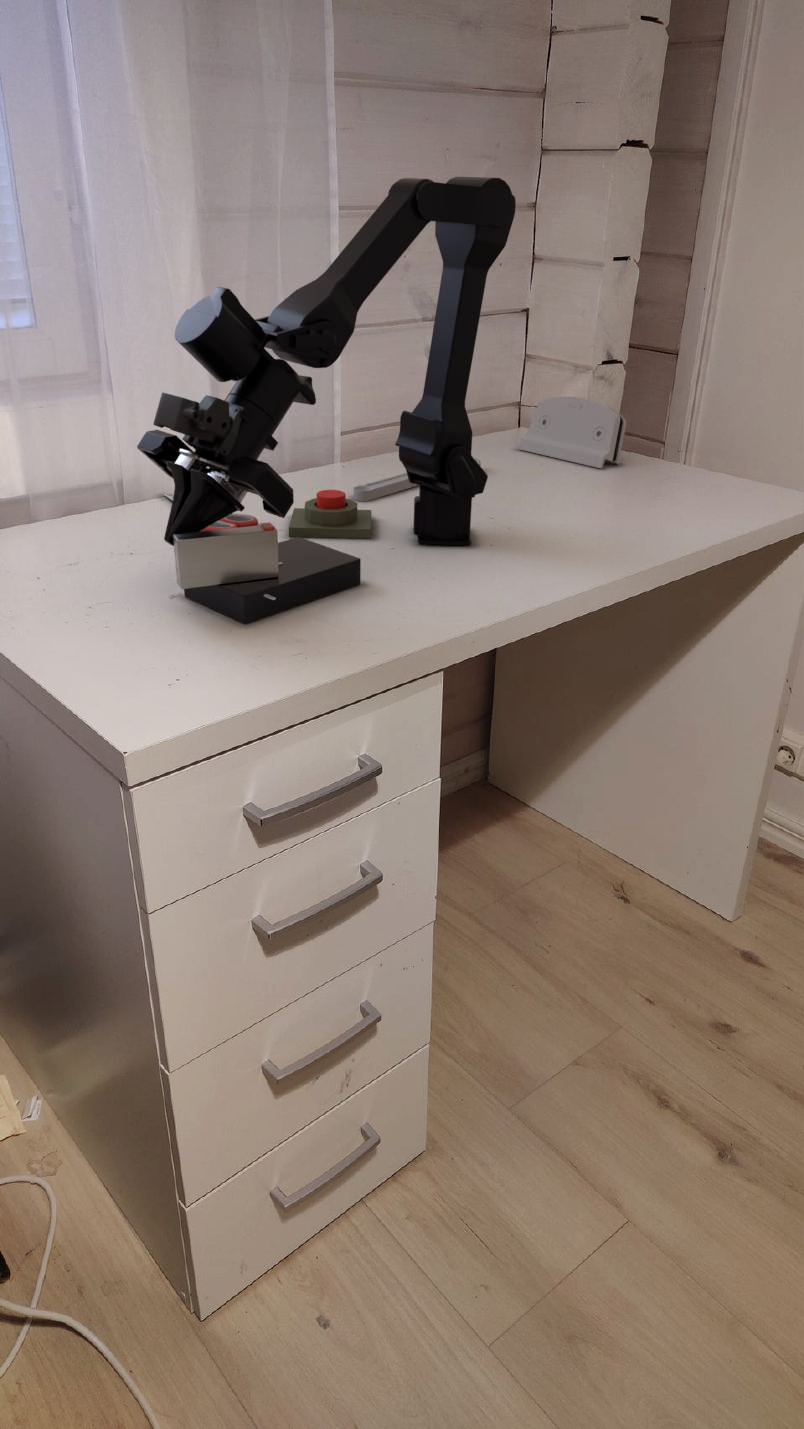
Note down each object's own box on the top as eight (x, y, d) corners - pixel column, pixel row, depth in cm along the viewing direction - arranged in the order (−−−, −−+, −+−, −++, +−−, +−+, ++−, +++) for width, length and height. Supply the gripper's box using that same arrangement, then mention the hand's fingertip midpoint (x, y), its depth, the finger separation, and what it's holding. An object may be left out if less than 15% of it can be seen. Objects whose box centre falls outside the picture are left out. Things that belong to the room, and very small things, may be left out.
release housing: (371, 518, 131) (371, 496, 129) (370, 538, 124) (370, 514, 122) (294, 517, 130) (293, 494, 129) (288, 536, 123) (288, 513, 122)
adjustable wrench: (362, 503, 137) (362, 490, 136) (332, 493, 141) (332, 480, 140) (486, 472, 152) (487, 460, 151) (456, 464, 156) (456, 452, 155)
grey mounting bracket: (516, 448, 165) (534, 387, 163) (532, 454, 169) (549, 393, 167) (602, 468, 155) (622, 403, 153) (617, 474, 159) (636, 410, 157)
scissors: (166, 494, 138) (165, 484, 137) (269, 529, 126) (268, 518, 125) (118, 505, 133) (117, 494, 132) (220, 543, 121) (220, 531, 120)
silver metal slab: (181, 589, 99) (177, 538, 96) (176, 582, 100) (172, 531, 98) (279, 577, 102) (277, 527, 100) (273, 570, 104) (271, 521, 102)
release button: (346, 503, 127) (346, 489, 126) (345, 512, 124) (345, 498, 123) (317, 502, 127) (317, 489, 126) (315, 511, 124) (315, 497, 123)
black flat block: (130, 606, 103) (127, 577, 101) (290, 558, 116) (290, 532, 115) (217, 649, 94) (215, 617, 93) (378, 591, 108) (378, 563, 107)
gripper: (144, 346, 100) (58, 477, 98) (265, 373, 89) (171, 521, 87) (213, 416, 109) (136, 537, 107) (331, 448, 98) (247, 584, 96)
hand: (169, 543), depth 99 cm, fingers closed
